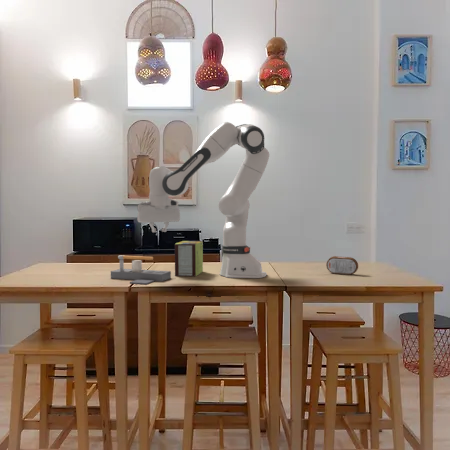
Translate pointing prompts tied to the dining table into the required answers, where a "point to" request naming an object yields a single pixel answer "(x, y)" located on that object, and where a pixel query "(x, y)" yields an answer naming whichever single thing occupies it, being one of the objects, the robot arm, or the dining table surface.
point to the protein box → (188, 258)
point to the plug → (136, 266)
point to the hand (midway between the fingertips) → (159, 232)
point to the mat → (142, 281)
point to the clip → (135, 257)
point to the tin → (342, 265)
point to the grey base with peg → (139, 274)
